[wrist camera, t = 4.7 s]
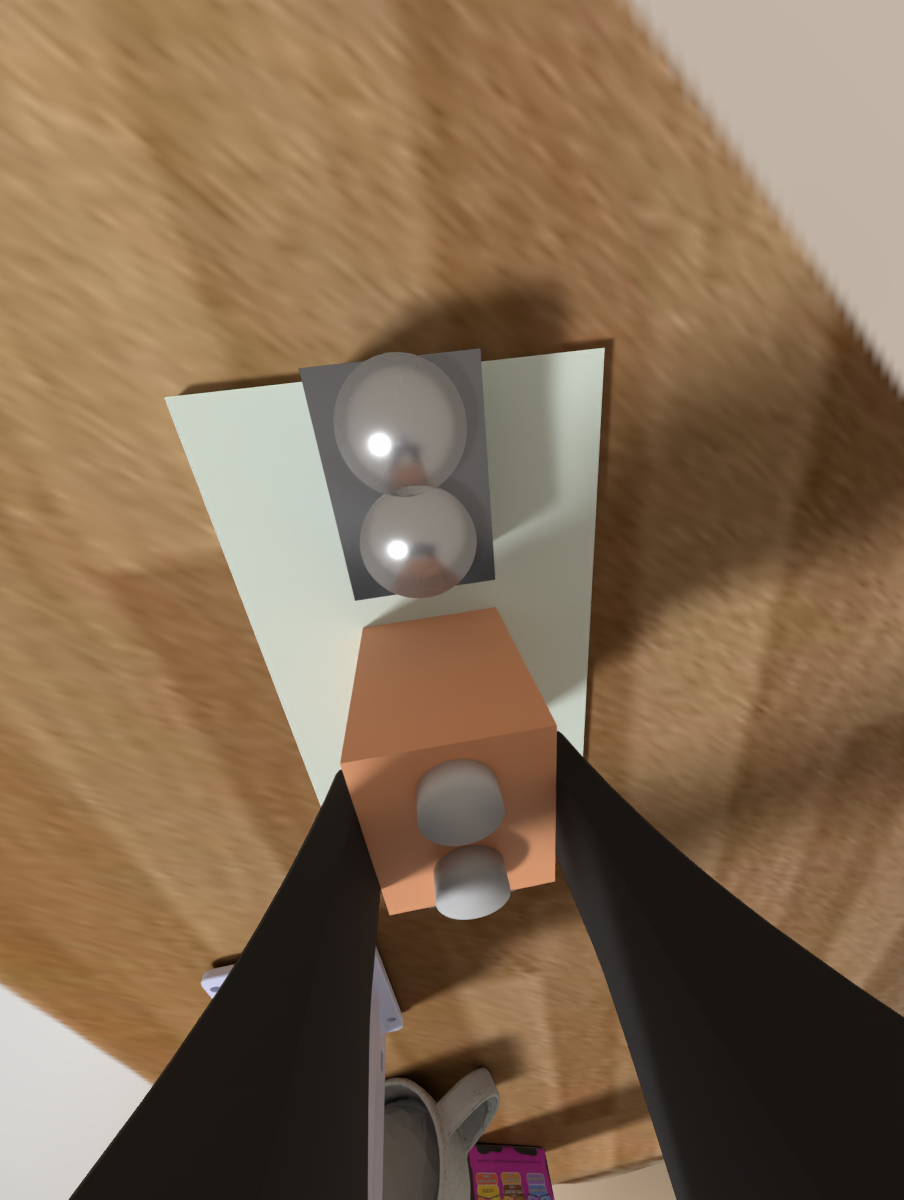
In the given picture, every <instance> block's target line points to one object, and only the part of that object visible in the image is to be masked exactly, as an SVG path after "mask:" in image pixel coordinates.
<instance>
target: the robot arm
mask: <svg viewBox="0 0 904 1200" xmlns="http://www.w3.org/2000/svg"><path fill="white" fill-rule="evenodd" d="M555 854H556V857H557V859H558V861H559V864H560V866H561V869H562V871H563V874H564V876H565V878H566V881H567V883H568V886H569V888H570V891H571V893H572V895H573V898H574V900H575V903H576V905H577V907H578V910H579V912H580V915H581V917H582V920H583V922H584V924H585V927H586V929H587V932H588V934H589V936H590V939H591V941H592V944H593V946H594V949H595V951H596V954H597V957H598V959H599V962H600V964H601V967H602V970H603V972H604V975H605V978H606V981H607V984H608V987H609V990H610V993H611V996H612V999H613V1002H614V1005H615V1008H616V1011H617V1014H618V1017H619V1020H620V1023H621V1026H622V1029H623V1032H624V1035H625V1038H626V1041H627V1044H628V1048H629V1051H630V1054H631V1057H632V1060H633V1063H634V1066H635V1069H636V1072H637V1075H638V1079H639V1082H640V1085H641V1088H642V1091H643V1094H644V1097H645V1100H646V1103H647V1106H648V1110H649V1113H650V1116H651V1119H652V1122H653V1126H654V1129H655V1132H656V1135H657V1138H658V1142H659V1145H660V1148H661V1151H662V1154H663V1158H664V1161H665V1164H666V1167H667V1171H668V1174H669V1177H670V1180H671V1183H672V1187H673V1190H674V1193H675V1196H676V1199H677V1200H904V1017H903V1016H901V1015H900V1014H898V1013H897V1012H895V1011H894V1010H892V1009H891V1008H889V1007H888V1006H886V1005H885V1004H883V1003H882V1002H880V1001H879V1000H877V999H876V998H874V997H873V996H871V995H870V994H868V993H867V992H866V991H864V990H863V989H861V988H860V987H858V986H857V985H855V984H854V983H852V982H851V981H849V980H848V979H847V978H845V977H844V976H843V975H841V974H840V973H838V972H837V971H836V970H834V969H833V968H831V967H830V966H829V965H827V964H826V963H824V962H823V961H822V960H820V959H819V958H817V957H816V956H815V955H813V954H812V953H810V952H809V951H808V950H806V949H805V948H803V947H802V946H801V945H799V944H798V943H796V942H795V941H794V940H792V939H791V938H789V937H788V936H787V935H785V934H784V933H782V932H781V931H780V930H778V929H777V928H775V927H774V926H773V925H771V924H770V923H769V922H768V921H766V920H765V919H764V918H762V917H761V916H760V915H758V914H757V913H756V912H755V911H753V910H752V909H751V908H749V907H748V906H747V905H745V904H744V903H743V902H742V901H740V900H739V899H738V898H736V897H735V896H734V895H733V894H731V893H730V892H729V891H728V890H726V889H725V888H724V887H723V886H721V885H720V884H719V883H718V882H716V881H715V880H714V879H713V878H712V877H710V876H709V875H708V874H707V873H705V872H704V871H703V870H702V869H701V868H699V867H698V866H697V865H696V864H695V863H693V862H692V861H691V860H690V859H689V858H688V857H686V856H685V855H684V854H683V853H682V852H681V851H680V850H678V849H677V848H676V847H675V846H674V845H673V844H672V843H671V842H669V841H668V840H667V839H666V838H665V837H664V836H663V835H662V834H660V833H659V832H658V831H657V830H656V829H655V828H654V827H653V826H652V825H651V824H650V823H648V822H647V821H646V820H645V819H644V818H643V817H642V816H641V815H640V814H639V813H638V812H637V811H636V810H635V809H634V808H633V807H632V806H631V805H630V804H629V803H628V802H627V801H625V800H624V799H623V798H622V797H621V796H620V795H619V794H618V793H617V792H616V791H615V790H614V789H613V788H612V787H611V786H610V785H609V784H608V783H607V782H606V781H605V780H604V779H603V778H602V776H601V775H600V774H599V773H598V772H597V771H596V770H595V769H594V768H593V767H592V766H591V765H590V764H589V763H588V762H587V761H586V760H585V758H584V757H583V756H582V755H581V754H580V753H579V752H578V751H577V750H576V749H575V747H574V746H573V745H572V744H571V743H570V742H569V741H568V739H567V738H566V737H565V736H564V735H563V734H562V733H561V732H559V731H557V758H556V837H555ZM380 891H381V887H380V884H379V881H378V878H377V875H376V872H375V869H374V866H373V863H372V860H371V857H370V854H369V851H368V848H367V845H366V842H365V839H364V835H363V832H362V829H361V826H360V823H359V820H358V817H357V814H356V811H355V808H354V805H353V802H352V799H351V796H350V793H349V790H348V787H347V784H346V781H345V777H344V774H343V771H342V770H339V771H338V772H337V773H336V775H335V777H334V779H333V782H332V784H331V786H330V789H329V791H328V793H327V795H326V798H325V800H324V802H323V804H322V806H321V808H320V811H319V813H318V815H317V817H316V819H315V821H314V823H313V825H312V827H311V829H310V831H309V833H308V835H307V837H306V839H305V841H304V843H303V845H302V847H301V849H300V851H299V853H298V855H297V857H296V859H295V860H294V862H293V864H292V866H291V868H290V870H289V872H288V874H287V876H286V878H285V879H284V881H283V883H282V885H281V887H280V888H279V890H278V892H277V894H276V895H275V897H274V899H273V901H272V902H271V904H270V906H269V908H268V909H267V911H266V913H265V915H264V916H263V918H262V920H261V922H260V923H259V925H258V927H257V929H256V930H255V932H254V934H253V935H252V937H251V939H250V940H249V942H248V944H247V945H246V947H245V948H244V950H243V952H242V953H241V955H240V957H239V958H238V960H237V961H236V963H235V964H233V965H228V966H223V967H219V968H214V969H210V970H208V971H206V972H205V973H204V976H203V978H202V981H201V985H202V987H203V988H204V989H205V991H206V992H207V993H208V994H209V995H210V997H211V998H212V1000H211V1002H210V1003H209V1005H208V1007H207V1008H206V1009H205V1011H204V1012H203V1014H202V1015H201V1017H200V1018H199V1020H198V1021H197V1023H196V1024H195V1026H194V1027H193V1029H192V1030H191V1031H190V1033H189V1034H188V1036H187V1037H186V1039H185V1040H184V1042H183V1043H182V1045H181V1046H180V1048H179V1049H178V1051H177V1052H176V1054H175V1055H174V1056H173V1058H172V1059H171V1061H170V1062H169V1064H168V1065H167V1067H166V1068H165V1069H164V1071H163V1072H162V1074H161V1075H160V1076H159V1078H158V1079H157V1081H156V1082H155V1084H154V1085H153V1086H152V1088H151V1089H150V1091H149V1092H148V1093H147V1095H146V1096H145V1097H144V1099H143V1101H142V1102H141V1103H140V1105H139V1106H138V1107H137V1108H136V1110H135V1111H134V1112H133V1114H132V1115H131V1117H130V1118H129V1119H128V1121H127V1122H126V1123H125V1125H124V1126H123V1127H122V1129H121V1130H120V1131H119V1133H118V1134H117V1135H116V1137H115V1138H114V1139H113V1141H112V1142H111V1143H110V1145H109V1146H108V1147H107V1149H106V1150H105V1151H104V1153H103V1154H102V1155H101V1157H100V1158H99V1159H98V1161H97V1162H96V1163H95V1165H94V1166H93V1168H92V1169H91V1170H90V1172H89V1173H88V1174H87V1176H86V1177H85V1178H84V1180H83V1181H82V1182H81V1184H80V1185H79V1186H78V1188H77V1189H76V1190H75V1192H74V1193H73V1194H72V1196H71V1197H70V1198H69V1200H382V1193H383V1144H384V1095H385V1046H386V1033H387V1032H391V1031H396V1030H399V1029H401V1028H402V1026H403V1016H402V1013H401V1010H400V1008H399V1005H398V1003H397V1000H396V997H395V995H394V992H393V989H392V987H391V984H390V981H389V979H388V976H387V974H386V971H385V968H384V966H383V963H382V960H381V958H380V955H379V953H378V950H377V947H376V938H377V926H378V915H379V903H380Z"/></svg>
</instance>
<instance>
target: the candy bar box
mask: <svg viewBox="0 0 904 1200" xmlns="http://www.w3.org/2000/svg"><path fill="white" fill-rule="evenodd" d="M467 1162H468V1169H469V1177H470V1200H554V1196H553V1191H552V1185H551V1180H550V1175H549V1170H548V1165H547V1160H546V1155H545V1150H544V1149H543V1148H536V1147H522V1146H503V1145H483V1144H475V1145H474V1146H473V1147H472V1148H471V1149H470V1151H469V1152H468V1156H467Z"/></svg>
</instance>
